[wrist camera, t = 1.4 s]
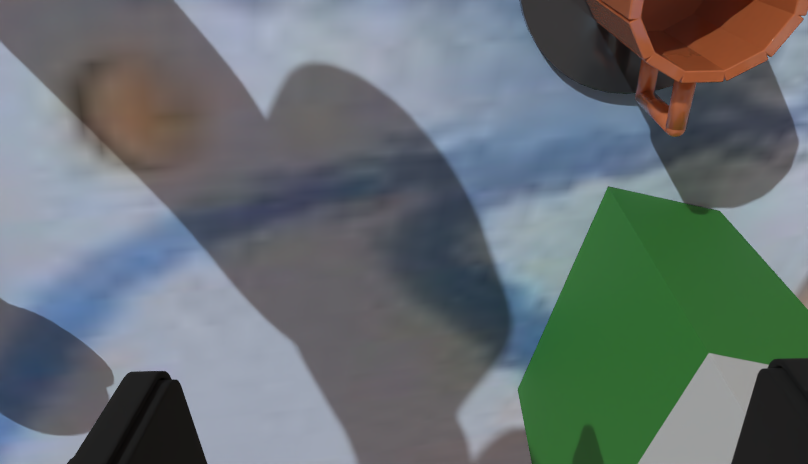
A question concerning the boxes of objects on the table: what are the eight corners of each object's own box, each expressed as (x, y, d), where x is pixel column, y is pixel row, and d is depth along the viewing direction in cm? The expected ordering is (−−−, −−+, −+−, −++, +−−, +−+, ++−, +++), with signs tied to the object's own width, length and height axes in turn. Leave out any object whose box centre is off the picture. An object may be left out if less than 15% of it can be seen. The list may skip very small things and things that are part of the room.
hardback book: (609, 406, 47) (760, 829, 26) (517, 389, 46) (597, 809, 25) (720, 211, 38) (1081, 616, 17) (608, 186, 37) (844, 578, 16)
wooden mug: (592, -111, 28) (647, -105, 21) (740, -115, 28) (844, -111, 21) (568, 93, 33) (607, 151, 26) (694, 91, 33) (766, 148, 26)
